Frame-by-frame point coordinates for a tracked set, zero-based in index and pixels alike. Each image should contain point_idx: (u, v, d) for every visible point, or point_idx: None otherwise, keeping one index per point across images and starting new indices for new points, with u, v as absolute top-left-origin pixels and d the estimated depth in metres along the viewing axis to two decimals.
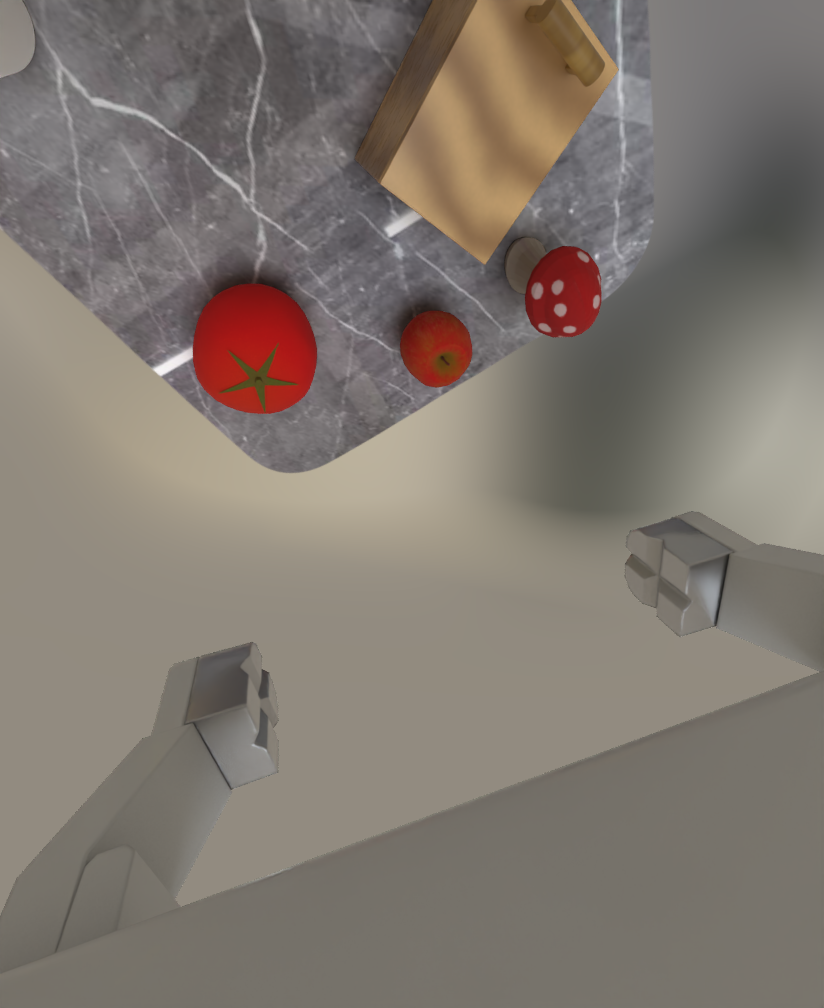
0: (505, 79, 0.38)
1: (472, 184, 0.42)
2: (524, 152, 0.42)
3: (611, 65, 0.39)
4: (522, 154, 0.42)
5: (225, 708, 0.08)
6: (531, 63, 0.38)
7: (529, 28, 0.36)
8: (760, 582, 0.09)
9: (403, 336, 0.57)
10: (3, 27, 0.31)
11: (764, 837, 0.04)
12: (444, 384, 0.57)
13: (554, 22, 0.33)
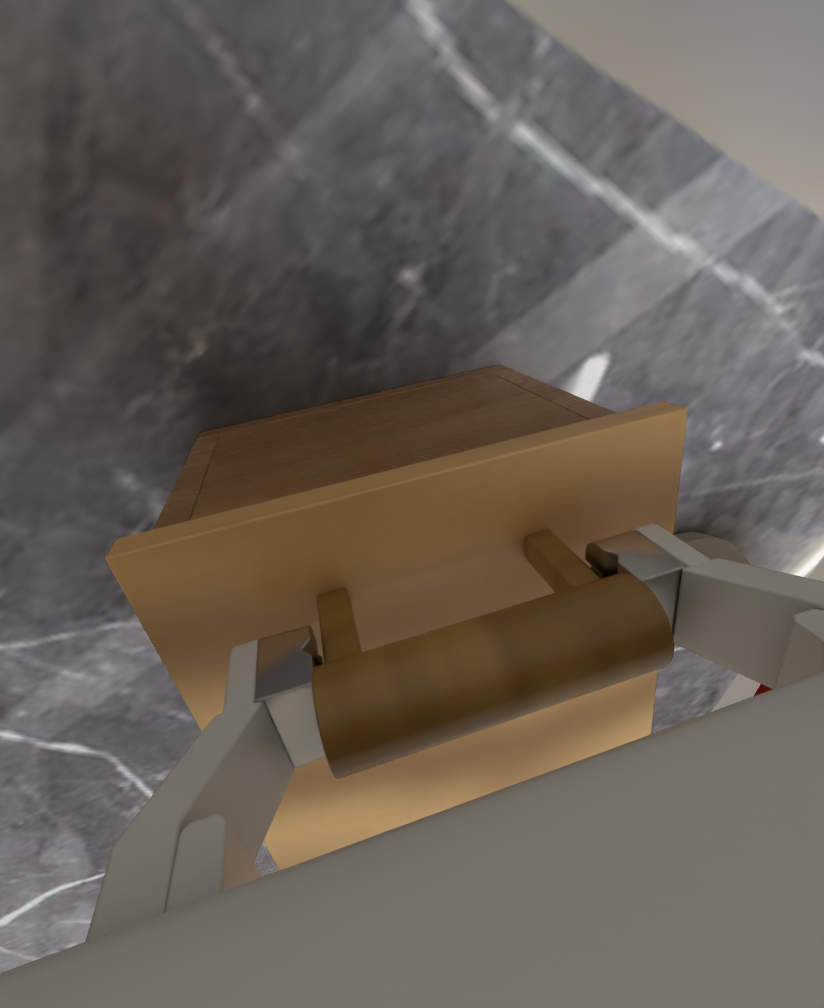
0: None
1: None
2: (568, 706, 0.15)
3: (657, 426, 0.11)
4: (567, 710, 0.15)
5: (293, 687, 0.08)
6: None
7: (360, 614, 0.11)
8: (712, 598, 0.08)
9: None
10: None
11: (764, 837, 0.04)
12: None
13: (378, 763, 0.08)
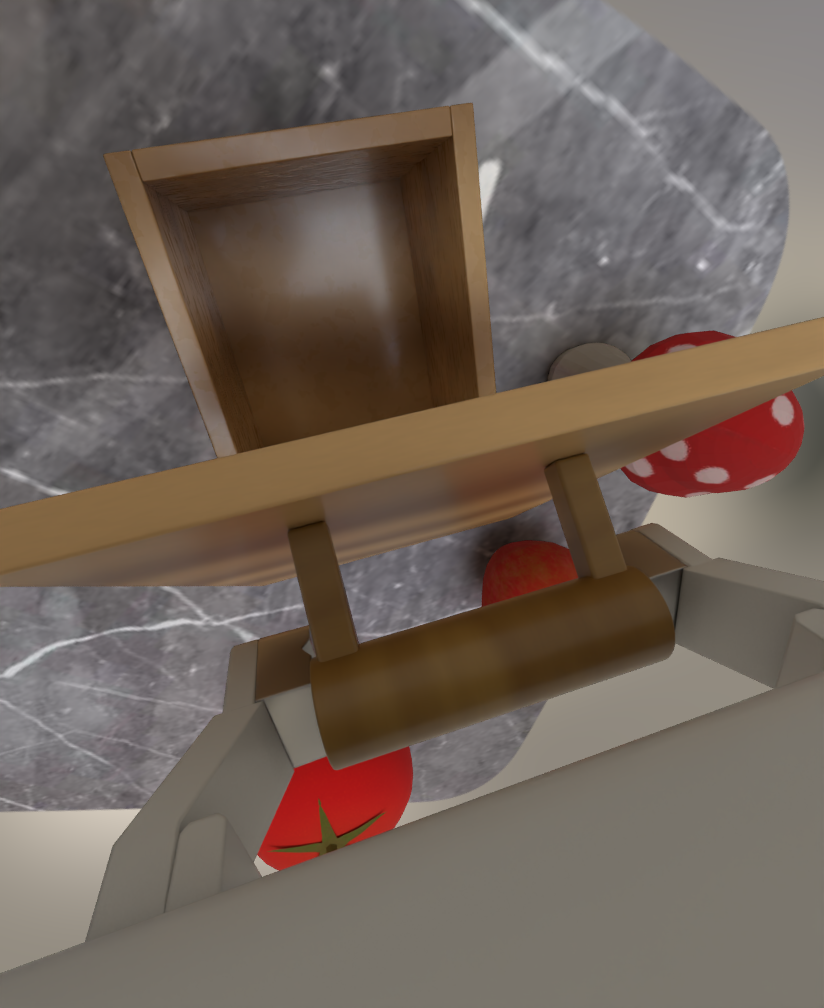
0: (358, 535, 0.12)
1: (415, 538, 0.19)
2: (506, 503, 0.15)
3: (805, 374, 0.07)
4: (504, 504, 0.16)
5: (293, 687, 0.08)
6: (409, 512, 0.11)
7: (336, 523, 0.09)
8: (713, 597, 0.08)
9: None
10: None
11: (764, 837, 0.04)
12: None
13: None
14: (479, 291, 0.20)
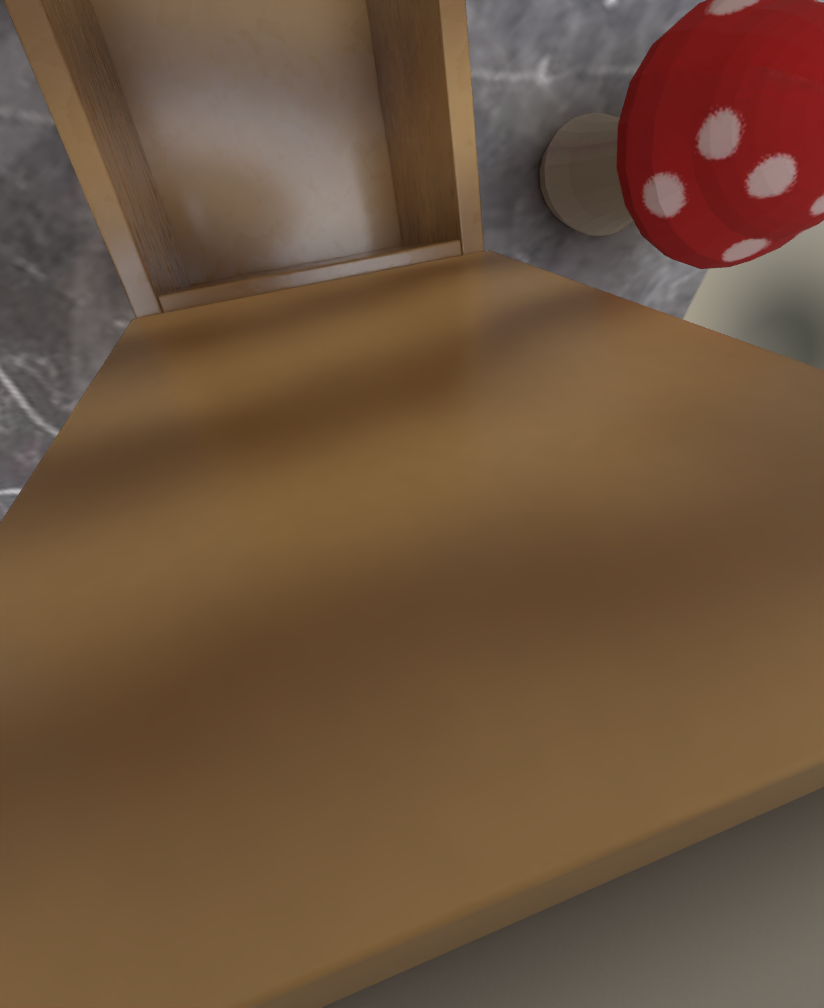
0: None
1: None
2: None
3: None
4: None
5: None
6: None
7: None
8: None
9: None
10: None
11: (764, 837, 0.04)
12: None
13: None
14: None
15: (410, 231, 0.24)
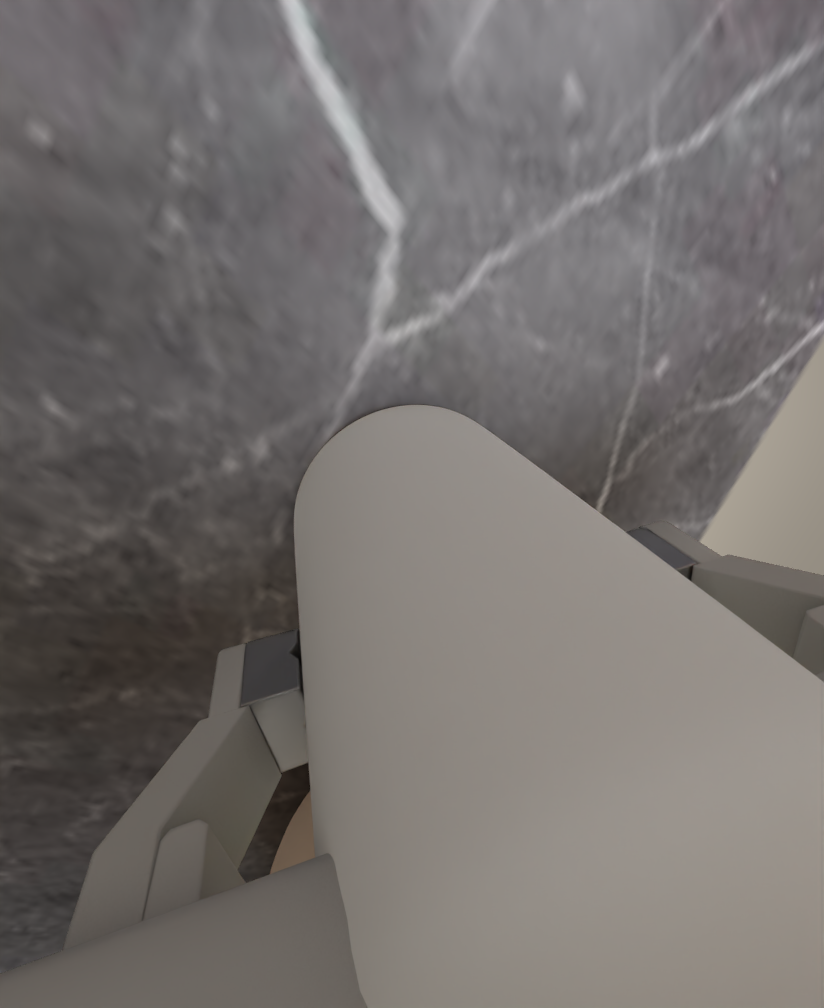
0: None
1: None
2: None
3: None
4: None
5: (279, 691, 0.08)
6: None
7: None
8: (723, 594, 0.08)
9: None
10: (418, 635, 0.05)
11: None
12: None
13: None
14: None
15: None
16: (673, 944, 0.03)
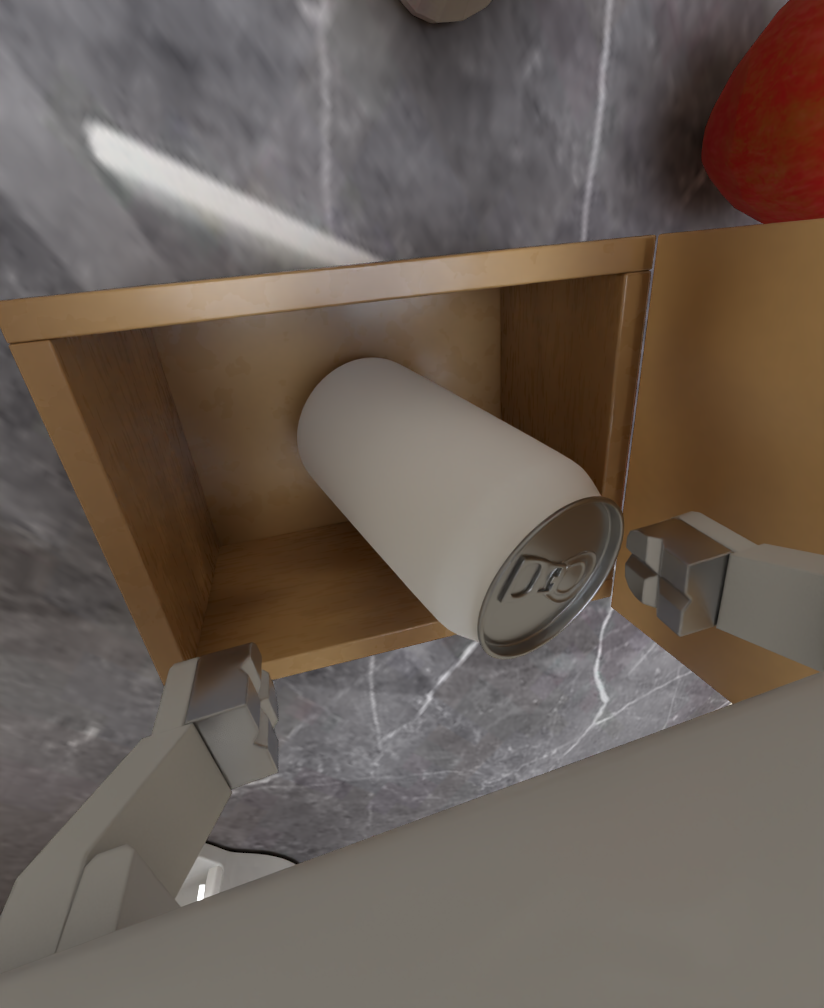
0: None
1: None
2: None
3: None
4: None
5: (225, 708, 0.08)
6: None
7: None
8: (760, 582, 0.09)
9: None
10: (432, 462, 0.14)
11: (764, 837, 0.04)
12: None
13: None
14: (280, 291, 0.12)
15: None
16: (524, 505, 0.12)
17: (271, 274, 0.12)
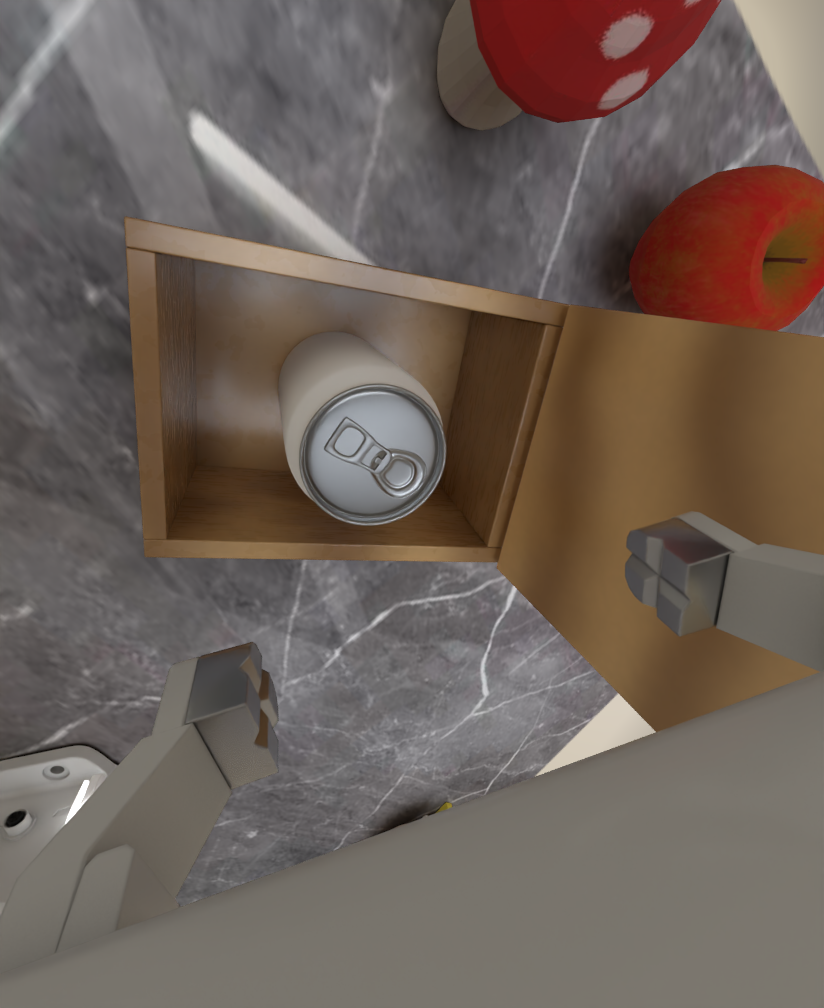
0: None
1: None
2: None
3: None
4: None
5: (225, 708, 0.08)
6: None
7: None
8: (760, 582, 0.09)
9: None
10: (325, 360, 0.19)
11: (764, 837, 0.04)
12: None
13: None
14: (319, 267, 0.17)
15: None
16: (356, 379, 0.17)
17: (316, 255, 0.17)
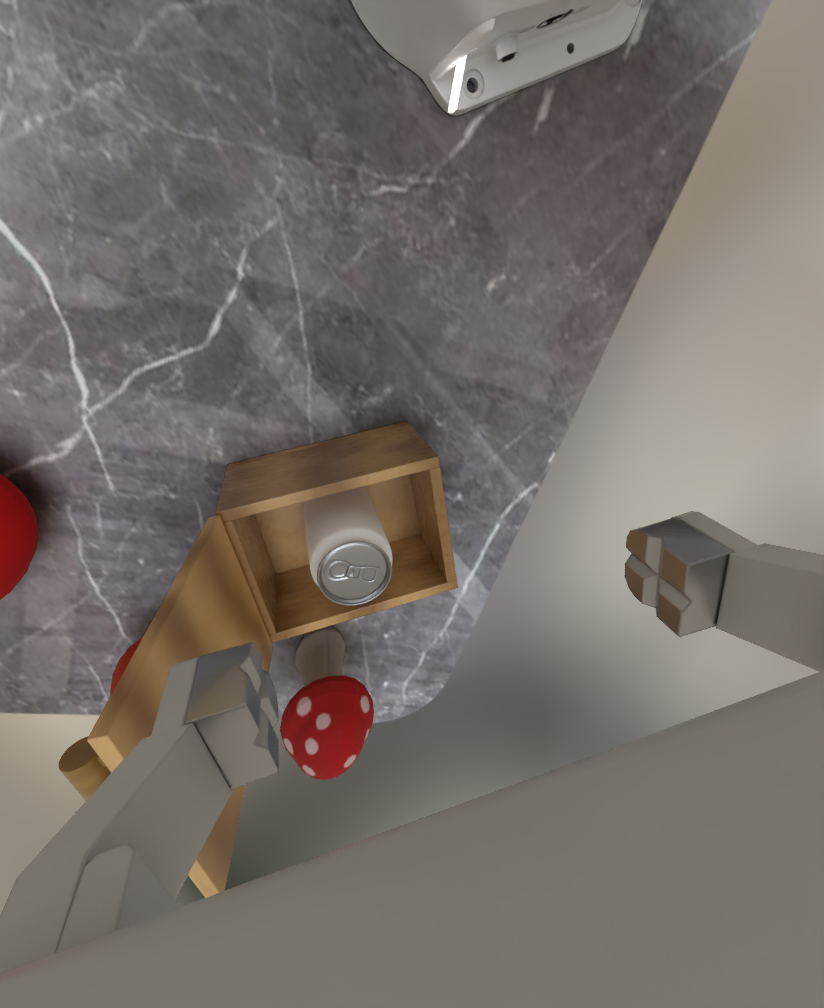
0: None
1: None
2: None
3: None
4: None
5: (225, 708, 0.08)
6: None
7: None
8: (760, 582, 0.09)
9: (138, 643, 0.42)
10: None
11: (764, 837, 0.04)
12: None
13: None
14: (389, 604, 0.41)
15: (282, 584, 0.46)
16: (372, 593, 0.38)
17: (391, 607, 0.42)
